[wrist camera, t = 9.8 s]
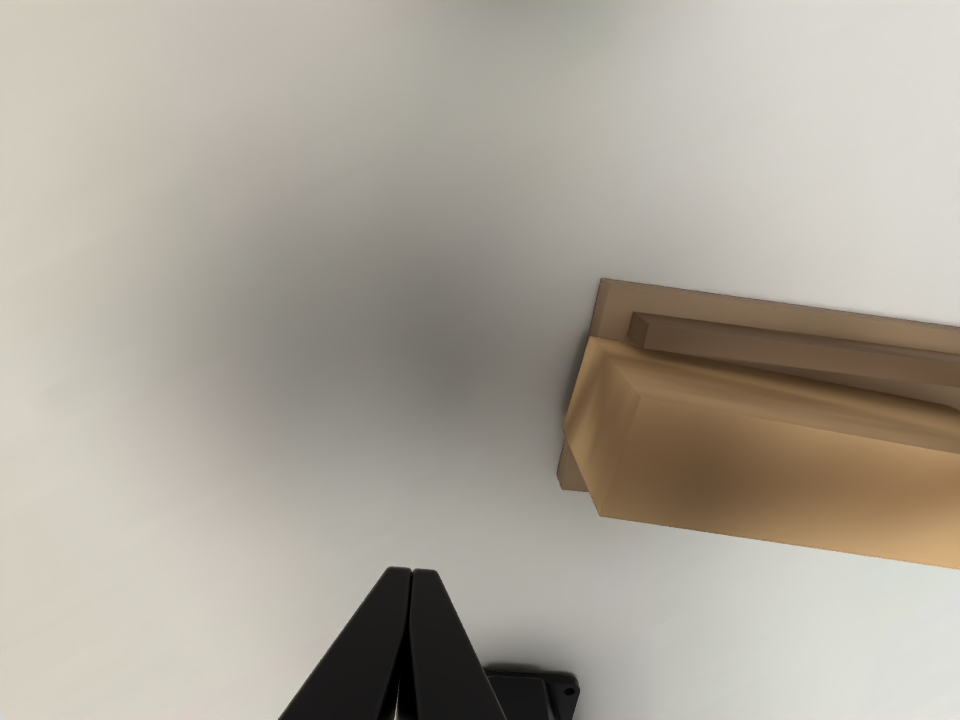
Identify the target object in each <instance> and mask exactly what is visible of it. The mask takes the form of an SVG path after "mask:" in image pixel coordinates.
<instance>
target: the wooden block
mask: <svg viewBox="0 0 960 720" xmlns="http://www.w3.org/2000/svg"><path fill="white" fill-rule="evenodd" d="M562 429H563V432H564V434H565V436H566V439H567V441H568V443H569V446H570V448H571V450H572V453H573V455H574V457H575V460H576V462H577V464H578V467H579V469H580V471H581V474H582V476H583V478H584V481H585V483H586V485H587V488H588V490H589V492H590V495H591V497H592V499H593V502H594V504H595V506H596V509H597V511H598V513H599V516H601V517H608V518H615V519H622V520H628V521H635V522H642V523H649V524H655V525H662V526H669V527H676V528H682V529H689V530H696V531H703V532H709V533H716V534H723V535H729V536H736V537H743V538H750V539H756V540H763V541H770V542H777V543H783V544H790V545H797V546H804V547H810V548H817V549H824V550H831V551H837V552H844V553H851V554H857V555H864V556H871V557H878V558H884V559H891V560H898V561H905V562H911V563H918V564H925V565H932V566H938V567H945V568H952V569H958V570H960V411H959V410H957V409H955V408H952V407H950V406H948V405H945V404H940V403H935V402H930V401H925V400H919V399H914V398H909V397H904V396H899V395H893V394H888V393H883V392H878V391H873V390H868V389H862V388H857V387H852V386H847V385H842V384H836V383H831V382H826V381H821V380H816V379H810V378H805V377H800V376H795V375H790V374H785V373H779V372H774V371H769V370H764V369H759V368H753V367H748V366H743V365H738V364H733V363H727V362H722V361H717V360H712V359H707V358H702V357H696V356H691V355H686V354H681V353H676V352H668V351H660V350H652V349H644V348H642V347H641V346H639V345H634V344H629V343H624V342H619V341H613V340H608V339H603V338H598V337H593V336H590V337H589V341H588V344H587V347H586V351H585V354H584V357H583V361H582V364H581V367H580V371H579V374H578V377H577V381H576V384H575V387H574V391H573V394H572V397H571V401H570V404H569V407H568V411H567V414H566V418H565V421H564V424H563V428H562Z"/></svg>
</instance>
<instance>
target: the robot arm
mask: <svg viewBox="0 0 960 720" xmlns="http://www.w3.org/2000/svg"><path fill="white" fill-rule="evenodd" d="M398 689H399V690H398ZM579 694H580V687H579V683H578V680H577V679H576V678H575V677H572V676H559V675H542V674H524V673H507V672H490V671H484V670H483V668H482V666H481V664H480V661H479V659H478V657H477V655H476V653H475V651H474V649H473V647H472V644H471V642H470V640H469V638H468V636H467V634H466V632H465V629H464V627H463V625H462V623H461V621H460V619H459V617H458V615H457V612H456V610H455V608H454V606H453V604H452V602H451V600H450V597H449V595H448V593H447V591H446V589H445V587H444V585H443V583H442V580H441V578H440V576H439V574H438V572H437V571H435V570H430V569H418V568H417V569H414V570H413V572H412V570H411V569H410V568H406V567H393V566H391V567H388V568H387V569H386V570H385V572H384V573H383V574H382V576H381V577H380V579H379V580H378V581H377V583H376V584H375V586H374V587H373V588H372V590H371V591H370V593H369V594H368V595H367V597H366V598H365V599H364V601H363V602H362V604H361V605H360V606H359V608H358V609H357V611H356V612H355V613H354V615H353V616H352V617H351V619H350V620H349V622H348V623H347V624H346V626H345V627H344V629H343V630H342V631H341V633H340V634H339V635H338V637H337V638H336V640H335V641H334V642H333V644H332V645H331V647H330V648H329V649H328V651H327V652H326V653H325V655H324V656H323V658H322V659H321V660H320V662H319V663H318V665H317V666H316V667H315V669H314V670H313V671H312V673H311V674H310V676H309V677H308V678H307V680H306V681H305V683H304V684H303V685H302V687H301V688H300V690H299V691H298V692H297V694H296V695H295V696H294V698H293V699H292V701H291V702H290V703H289V705H288V706H287V708H286V709H285V710H284V712H283V713H282V714H281V716H280V717H279V719H278V720H394V717H395V711H396V704H397V712H396V720H572V717H573V714H574V711H575V707H576V704H577V700H578V697H579ZM397 696H398V700H397Z"/></svg>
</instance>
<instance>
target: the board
mask: <svg viewBox="0 0 960 720" xmlns="http://www.w3.org/2000/svg"><path fill="white" fill-rule="evenodd" d="M590 336H593V337H598V338H603V339H608V340H613V341H619V342H624V343H629V344H634V345H639V346H641V347H642V348H644V349H652V350H660V351H668V352H676V353H681V354H686V355H691V356H696V357H702V358H707V359H712V360H717V361H722V362H727V363H733V364H738V365H743V366H748V367H753V368H759V369H764V370H769V371H774V372H779V373H785V374H790V375H795V376H800V377H805V378H810V379H816V380H821V381H826V382H831V383H836V384H842V385H847V386H852V387H857V388H862V389H868V390H873V391H878V392H883V393H888V394H893V395H899V396H904V397H909V398H914V399H919V400H925V401H930V402H935V403H940V404H945V405H948V406H950V407H952V408H955V409H957V410H959V411H960V327H953V326H946V325H939V324H932V323H924V322H917V321H910V320H902V319H895V318H888V317H881V316H873V315H866V314H859V313H851V312H844V311H837V310H830V309H822V308H815V307H808V306H800V305H793V304H786V303H779V302H771V301H764V300H757V299H749V298H742V297H735V296H728V295H720V294H713V293H706V292H698V291H691V290H684V289H677V288H669V287H662V286H655V285H647V284H640V283H633V282H626V281H618V280H611V279H604V278H601V283H600V287H599V291H598V296H597V300H596V304H595V309H594V313H593V318H592V322H591V326H590V331H589V335H588V340H587V344H588V341H589V337H590ZM587 344H586V347H587ZM585 351H586V348H585ZM584 354H585V353H584ZM557 477H558V480H559V483H560V486H561V489H562V490H572V491H582V492H589V490H588V488H587V485H586V483H585V481H584V478H583V476H582V474H581V471H580V469H579V467H578V464H577V462H576V460H575V457H574V455H573V453H572V450H571V448H570V446H569V443H568V441H567V439H566V436H565V441H564V445H563V449H562V454H561V458H560V463H559V467H558V471H557Z"/></svg>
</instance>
